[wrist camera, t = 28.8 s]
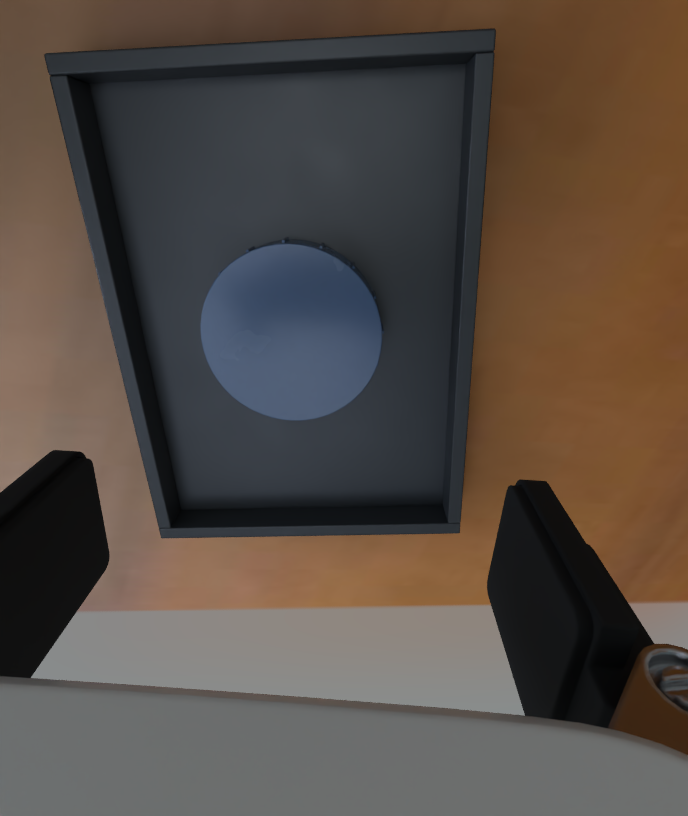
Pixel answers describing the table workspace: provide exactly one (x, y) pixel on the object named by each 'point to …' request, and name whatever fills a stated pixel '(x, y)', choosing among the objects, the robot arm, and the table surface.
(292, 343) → the jar lid
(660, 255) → the table surface
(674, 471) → the table surface
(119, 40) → the table surface
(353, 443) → the tray
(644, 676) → the robot arm
